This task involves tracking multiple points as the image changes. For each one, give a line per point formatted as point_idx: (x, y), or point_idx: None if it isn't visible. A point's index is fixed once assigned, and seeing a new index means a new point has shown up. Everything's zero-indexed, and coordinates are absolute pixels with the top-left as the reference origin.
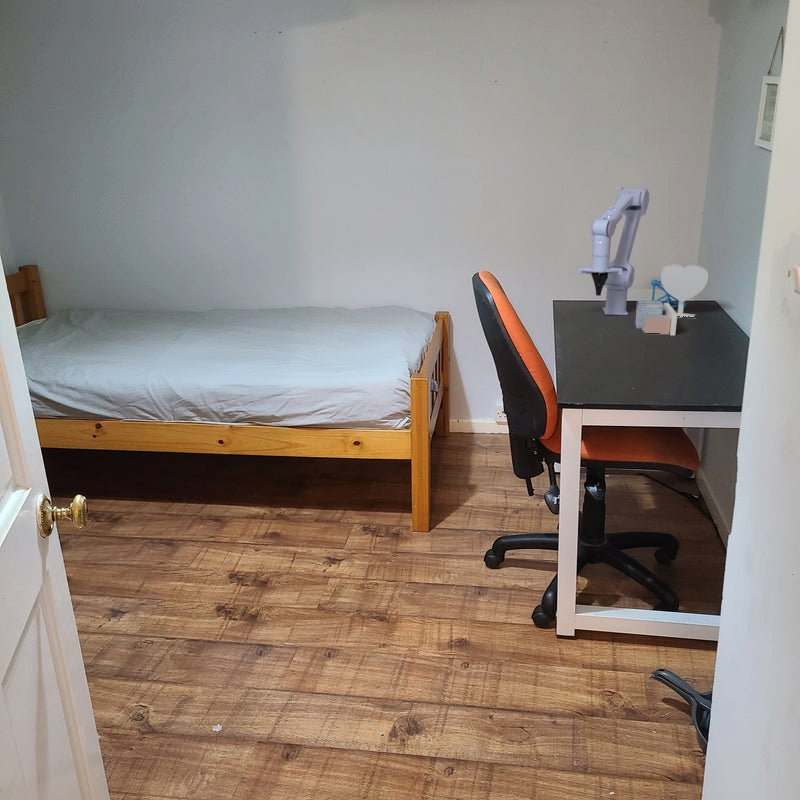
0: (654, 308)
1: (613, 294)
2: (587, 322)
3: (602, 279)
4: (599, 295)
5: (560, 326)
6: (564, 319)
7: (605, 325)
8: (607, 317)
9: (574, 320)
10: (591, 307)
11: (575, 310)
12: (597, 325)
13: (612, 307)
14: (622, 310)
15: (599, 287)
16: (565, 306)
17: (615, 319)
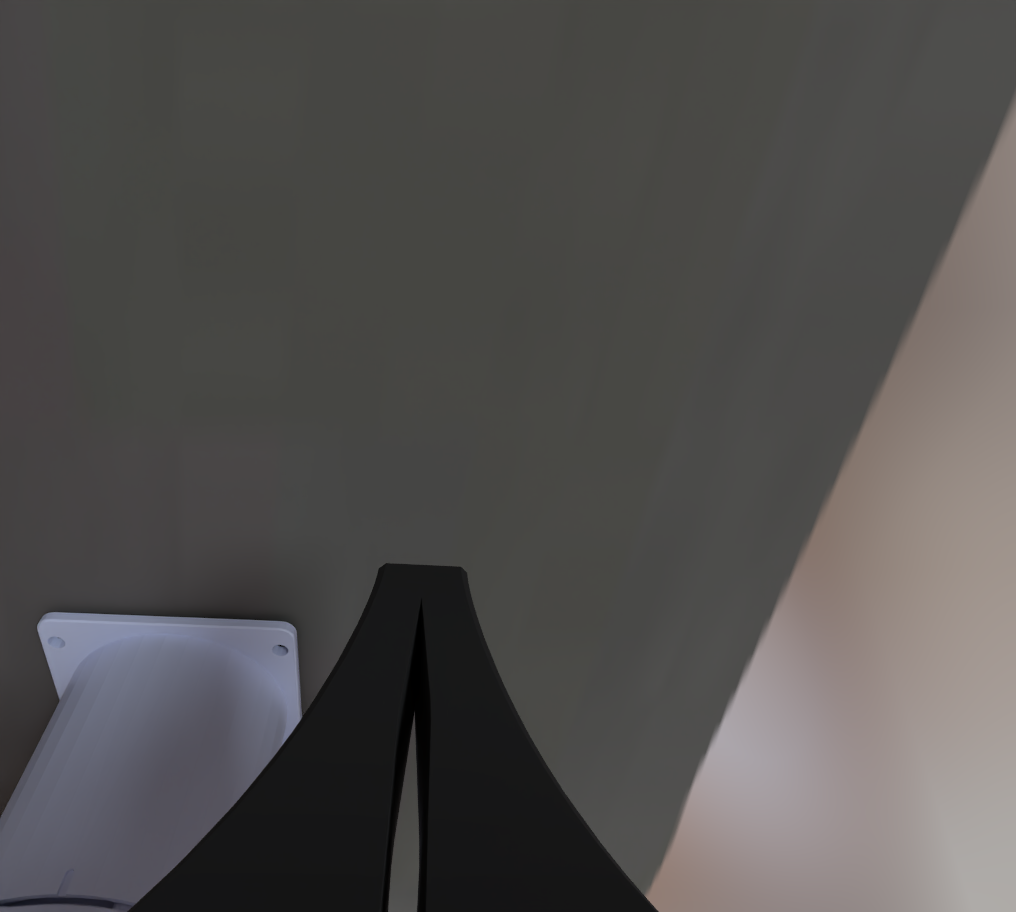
0: None
1: (151, 842)
2: (557, 322)
3: (314, 889)
4: (402, 564)
5: (1005, 106)
6: (795, 454)
7: (332, 156)
8: (277, 533)
9: (693, 413)
10: (402, 815)
11: (568, 741)
12: (450, 158)
13: (201, 693)
14: (93, 667)
15: (402, 716)
16: (622, 831)
17: (183, 456)
